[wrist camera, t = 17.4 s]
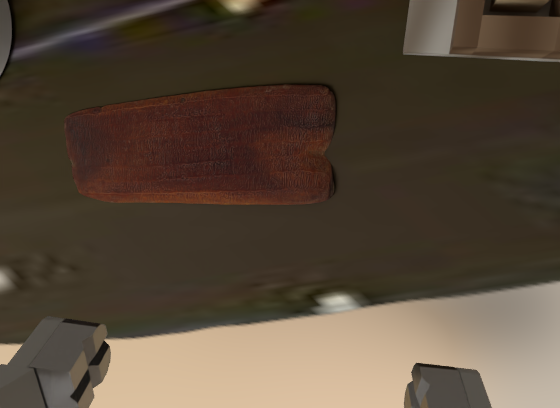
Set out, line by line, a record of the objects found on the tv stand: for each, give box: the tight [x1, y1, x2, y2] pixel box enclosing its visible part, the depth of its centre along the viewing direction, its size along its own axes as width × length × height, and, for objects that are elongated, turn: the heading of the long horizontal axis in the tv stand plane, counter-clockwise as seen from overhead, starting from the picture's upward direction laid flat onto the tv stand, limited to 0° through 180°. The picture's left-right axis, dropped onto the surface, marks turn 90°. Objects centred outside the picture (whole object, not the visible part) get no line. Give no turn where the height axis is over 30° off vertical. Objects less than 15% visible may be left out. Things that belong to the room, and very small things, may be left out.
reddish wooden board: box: [64, 85, 336, 205], centre depth 40 cm, size 27×10×2 cm, turn 92°
